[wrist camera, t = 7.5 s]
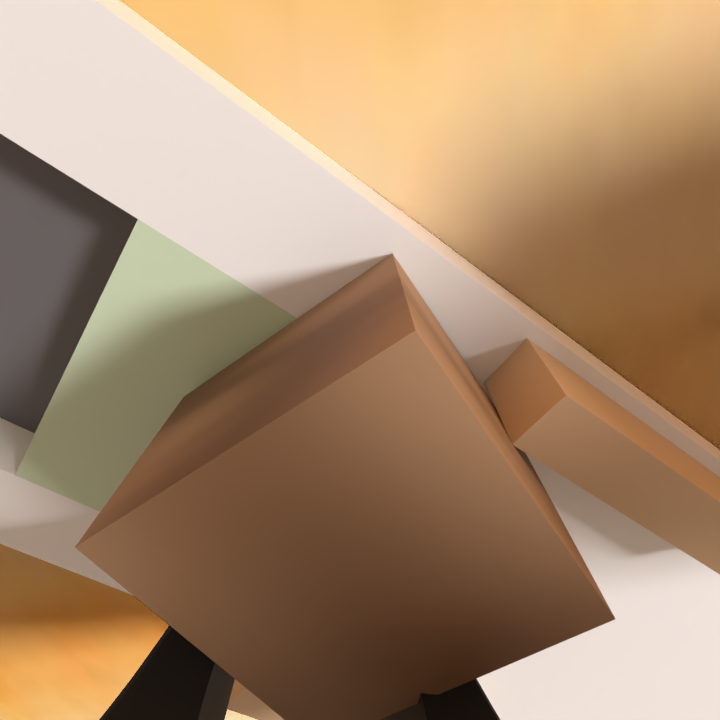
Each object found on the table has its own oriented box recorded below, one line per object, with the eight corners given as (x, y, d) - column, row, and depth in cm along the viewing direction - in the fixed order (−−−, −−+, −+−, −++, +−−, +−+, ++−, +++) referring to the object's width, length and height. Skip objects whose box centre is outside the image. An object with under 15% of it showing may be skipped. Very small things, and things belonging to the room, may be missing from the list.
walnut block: (331, 552, 11) (316, 746, 8) (183, 396, 10) (74, 547, 6) (523, 449, 10) (615, 619, 6) (392, 253, 9) (414, 331, 5)
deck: (887, 574, 15) (1022, 698, 12) (591, 733, 20) (634, 850, 17) (-373, -369, 6) (-1109, -831, 3) (-364, 331, 11) (-648, 426, 8)
